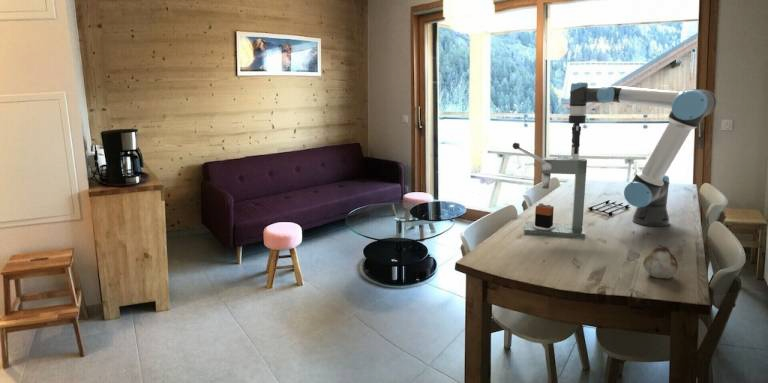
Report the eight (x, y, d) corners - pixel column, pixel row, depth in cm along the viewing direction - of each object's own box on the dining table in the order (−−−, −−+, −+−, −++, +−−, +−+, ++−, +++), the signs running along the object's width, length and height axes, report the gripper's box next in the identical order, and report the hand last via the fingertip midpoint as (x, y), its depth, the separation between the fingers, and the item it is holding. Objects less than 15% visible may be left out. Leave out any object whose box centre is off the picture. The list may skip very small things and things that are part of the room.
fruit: (643, 279, 164) (646, 245, 162) (640, 269, 173) (643, 237, 170) (678, 283, 161) (682, 248, 158) (673, 273, 169) (677, 240, 167)
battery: (538, 223, 224) (539, 202, 221) (552, 226, 219) (554, 204, 217) (534, 225, 220) (535, 204, 218) (549, 228, 216) (550, 206, 214)
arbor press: (582, 229, 221) (588, 140, 213) (584, 238, 209) (591, 144, 200) (511, 224, 231) (514, 139, 223) (509, 233, 218) (512, 142, 210)
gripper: (568, 113, 248) (565, 154, 253) (570, 116, 225) (567, 162, 229) (583, 113, 246) (581, 155, 250) (587, 116, 223) (584, 162, 227)
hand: (574, 158), depth 240 cm, fingers open, 13 cm apart
